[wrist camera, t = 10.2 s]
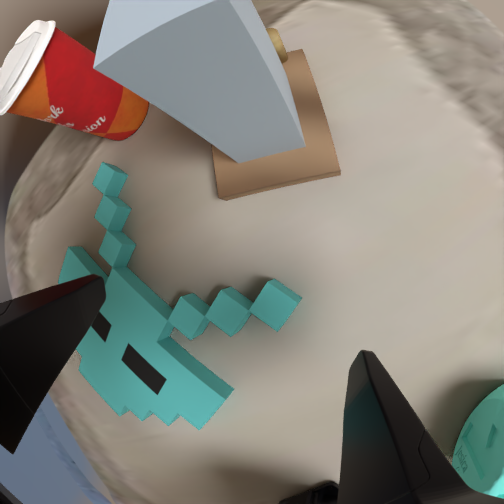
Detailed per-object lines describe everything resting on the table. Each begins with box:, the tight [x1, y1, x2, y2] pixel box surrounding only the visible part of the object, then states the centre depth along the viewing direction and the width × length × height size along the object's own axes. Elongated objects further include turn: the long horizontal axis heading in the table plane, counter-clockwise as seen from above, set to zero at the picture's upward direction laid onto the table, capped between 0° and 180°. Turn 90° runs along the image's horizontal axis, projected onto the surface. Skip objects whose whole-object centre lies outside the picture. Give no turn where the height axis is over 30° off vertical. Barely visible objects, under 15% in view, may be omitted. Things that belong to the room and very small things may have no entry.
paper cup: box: [0, 20, 149, 140], centre depth 16 cm, size 8×8×14 cm
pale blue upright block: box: [93, 0, 306, 163], centre depth 11 cm, size 6×4×12 cm
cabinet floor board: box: [211, 28, 341, 201], centre depth 17 cm, size 10×8×4 cm
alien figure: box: [58, 162, 302, 430], centre depth 22 cm, size 20×2×20 cm
